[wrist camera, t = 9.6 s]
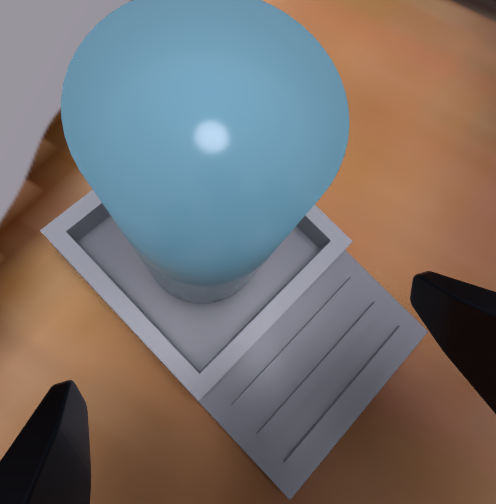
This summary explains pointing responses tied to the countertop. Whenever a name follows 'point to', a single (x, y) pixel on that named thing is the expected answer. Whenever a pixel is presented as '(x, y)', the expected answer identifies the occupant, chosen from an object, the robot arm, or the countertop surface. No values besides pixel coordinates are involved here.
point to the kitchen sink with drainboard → (259, 336)
